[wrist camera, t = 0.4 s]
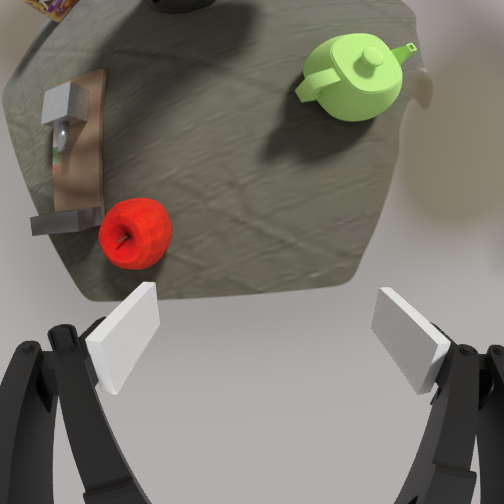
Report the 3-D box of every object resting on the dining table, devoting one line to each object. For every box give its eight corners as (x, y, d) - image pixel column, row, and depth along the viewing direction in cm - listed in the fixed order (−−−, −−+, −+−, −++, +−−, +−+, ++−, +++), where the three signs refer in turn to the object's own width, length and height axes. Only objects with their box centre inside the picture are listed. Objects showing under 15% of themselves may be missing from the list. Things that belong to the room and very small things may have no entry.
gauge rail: (61, 86, 35) (36, 76, 27) (107, 69, 35) (84, 54, 27) (60, 227, 42) (32, 235, 34) (105, 223, 42) (79, 231, 34)
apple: (165, 183, 40) (132, 183, 28) (193, 239, 42) (171, 260, 30) (116, 213, 41) (74, 224, 29) (143, 265, 43) (109, 292, 31)
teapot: (367, 39, 33) (396, 5, 21) (408, 102, 36) (450, 83, 24) (269, 75, 36) (274, 37, 24) (315, 146, 39) (339, 131, 26)
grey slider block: (61, 100, 35) (41, 93, 29) (89, 90, 35) (70, 80, 29) (57, 156, 37) (36, 155, 31) (86, 149, 37) (65, 146, 31)
